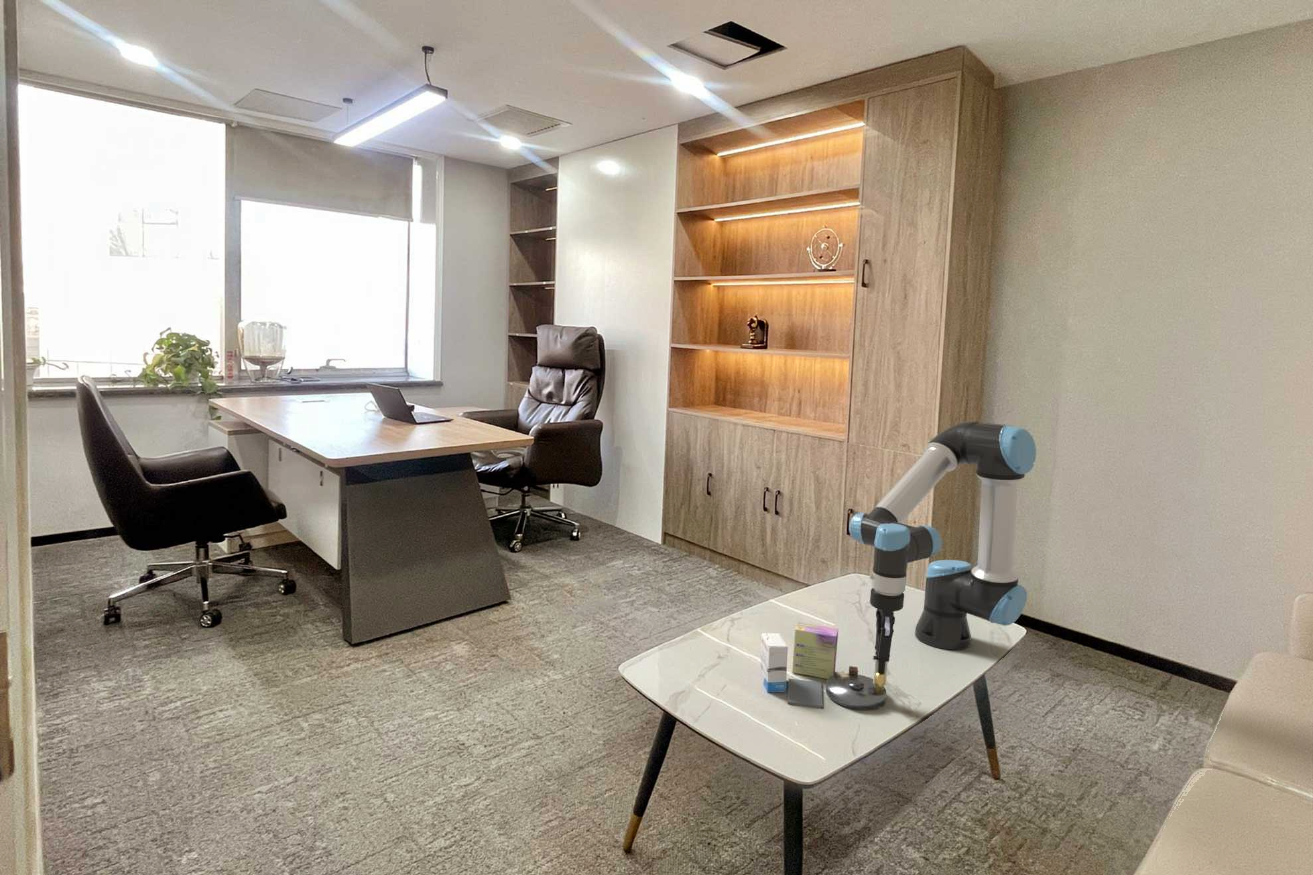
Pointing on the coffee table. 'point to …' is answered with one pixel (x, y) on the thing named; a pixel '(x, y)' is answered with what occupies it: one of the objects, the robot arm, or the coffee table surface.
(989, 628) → the coffee table surface
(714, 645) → the coffee table surface
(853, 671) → the brown short block
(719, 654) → the coffee table surface
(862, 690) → the dark pot lid
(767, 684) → the ink box
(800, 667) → the box
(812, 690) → the mat
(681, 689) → the coffee table surface
